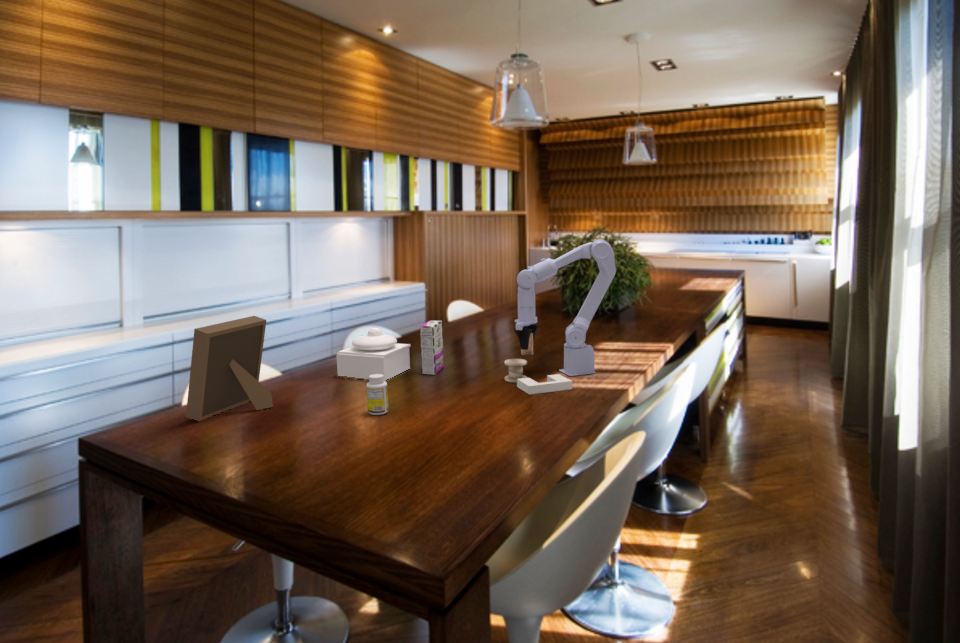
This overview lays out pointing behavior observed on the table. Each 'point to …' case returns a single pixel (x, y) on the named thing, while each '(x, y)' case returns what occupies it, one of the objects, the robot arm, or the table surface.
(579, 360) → the robot arm
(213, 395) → the photo frame
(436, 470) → the table surface
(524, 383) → the notched board
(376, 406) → the supplement bottle
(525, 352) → the copper peg
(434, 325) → the candy bar box
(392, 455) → the table surface
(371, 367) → the butter dish
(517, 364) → the bobbin
